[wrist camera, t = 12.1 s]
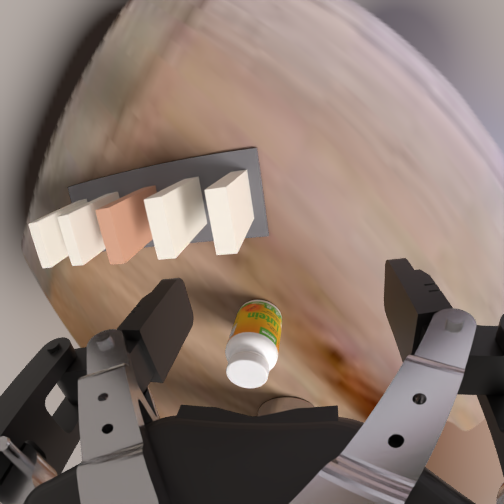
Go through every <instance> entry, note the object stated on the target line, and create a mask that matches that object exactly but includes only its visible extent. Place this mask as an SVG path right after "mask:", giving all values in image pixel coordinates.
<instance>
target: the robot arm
mask: <svg viewBox="0 0 504 504" xmlns="http://www.w3.org/2000/svg"><path fill="white" fill-rule="evenodd" d="M384 307H385V312H386V316H387V318H388V321H389V324H390V326H391V329H392V332H393V335H394V337H395V340H396V343H397V346H398V349H399V352H400V355H401V358H402V361H403V364H402V366H401V367H400V369H399V371H398V373H397V374H396V376H395V377H394V379H393V381H392V382H391V384H390V386H389V387H388V389H387V390H386V392H385V393H384V395H383V396H382V398H381V400H380V401H379V403H378V404H377V405H376V407H375V408H374V410H373V411H372V413H371V414H370V416H369V417H368V419H367V420H366V421H365V423H363V422H360V421H357V420H353V419H349V418H343V417H338V406H326V407H314V406H313V405H312V404H310V403H309V402H307V401H304V400H302V399H298V398H292V397H282V398H276V399H272V400H269V401H267V402H265V403H264V404H263V405H262V406H261V407H260V408H259V411H258V416H256V417H252V416H247V415H243V414H239V413H235V412H231V411H227V410H224V409H220V408H216V407H202V406H190V405H181V406H180V409H179V411H178V414H177V415H176V416H170V417H165V418H161V419H160V417H159V414H158V411H157V408H156V405H155V402H154V399H153V396H152V393H151V390H150V389H149V387H148V385H149V383H150V382H159V383H163V382H164V380H165V378H166V376H167V374H168V372H169V370H170V368H171V367H172V365H173V363H174V361H175V359H176V357H177V355H178V353H179V351H180V349H181V347H182V345H183V343H184V341H185V339H186V337H187V335H188V333H189V332H190V330H191V328H192V325H193V312H192V308H191V305H190V302H189V298H188V295H187V291H186V288H185V285H184V282H183V280H182V279H181V278H174V279H163V280H161V281H160V283H159V284H158V285H157V286H156V287H155V289H154V290H153V291H152V292H151V293H149V294H148V295H146V296H145V297H143V298H142V299H141V300H140V302H139V303H138V304H137V305H136V307H135V308H134V309H133V310H132V311H131V313H130V314H129V315H128V316H127V317H126V319H125V320H124V321H123V322H122V323H121V325H120V326H119V327H118V328H117V330H116V329H110V330H106V331H103V332H100V333H98V334H97V335H95V336H94V337H92V338H91V339H90V341H89V342H88V344H87V347H85V348H78V349H74V348H73V346H72V344H71V342H70V340H69V339H67V338H57V339H54V340H52V341H50V342H49V343H47V344H46V345H45V346H44V347H43V348H42V349H41V350H40V351H39V352H38V353H37V354H36V356H35V357H34V358H33V359H32V360H31V361H30V362H29V363H28V365H27V366H26V367H25V368H24V369H23V370H22V371H21V372H20V374H19V375H18V376H17V377H16V378H15V379H14V381H13V382H12V383H11V384H10V386H9V387H8V388H7V389H6V390H5V391H4V393H3V394H2V395H1V396H0V504H475V503H474V502H472V501H471V500H470V499H468V498H467V497H465V496H464V495H462V494H461V493H460V492H458V491H457V490H456V489H454V488H453V487H451V486H450V485H449V484H447V483H446V482H444V481H443V480H442V479H441V478H439V477H438V476H436V475H435V474H434V473H433V472H431V471H430V470H428V469H427V468H426V467H425V465H426V463H427V462H428V460H429V458H430V456H431V454H432V451H433V450H434V448H435V445H436V443H437V441H438V439H439V437H440V435H441V432H442V430H443V428H444V426H445V423H446V421H447V419H448V416H449V414H450V411H451V409H452V406H453V404H454V401H455V398H456V396H457V394H465V395H477V397H478V400H479V402H480V405H481V408H482V410H483V413H484V416H485V418H486V421H487V424H488V427H489V430H490V432H491V435H492V438H493V441H494V445H495V448H496V451H497V454H498V458H499V461H500V465H501V468H502V472H503V476H504V314H503V315H502V317H501V319H500V322H499V325H498V326H479V325H476V321H475V319H474V317H473V316H472V315H470V314H469V313H467V312H466V311H463V310H460V309H453V308H452V306H451V305H450V303H449V302H448V300H447V299H446V297H445V296H444V294H443V293H442V292H441V291H440V289H439V287H438V286H437V285H435V282H434V281H433V279H432V278H431V276H430V275H428V274H427V273H425V272H423V271H422V270H414V269H413V267H412V266H411V264H410V263H409V262H408V260H407V259H406V258H402V259H392V260H387V261H386V263H385V287H384ZM56 383H57V385H58V386H59V388H60V389H61V390H62V392H63V393H64V395H65V396H66V397H65V399H64V400H63V401H62V403H61V404H60V406H59V407H58V409H57V410H56V411H55V413H54V414H53V416H51V415H50V414H49V413H48V411H47V410H46V407H45V399H46V397H47V395H48V394H49V393H50V391H51V390H52V389H53V387H54V386H55V385H56ZM79 440H80V441H81V452H82V462H81V463H80V464H78V465H76V466H75V467H73V468H71V469H69V470H67V471H65V472H64V473H62V471H63V469H64V467H65V465H66V463H67V462H68V459H69V458H70V456H71V454H72V453H73V451H74V449H75V447H76V445H77V444H78V442H79ZM497 504H504V483H503V484H502V486H501V487H500V489H499V492H498V495H497Z"/></svg>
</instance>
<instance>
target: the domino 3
mask: <svg viewBox="0 0 504 504" xmlns="http://www.w3.org/2000/svg"><path fill="white" fill-rule="evenodd" d="M155 193H157V190H156V185H154V186H149V187H143V188H141V189H139V190H136V191H134V192H132V193H130V194H128V195H126V196H124V197H121V198H119V199H117V200H115V201H113V202H111V203H109V204H107V205H105V206H103V207H101V208H99V209H97V210H95V211H96V215H97V219H98V223H99V227H100V231H101V234H102V238H103V241H104V245H105V248H106V252H107V255H108V258H109V261H110V264H125V263H126V262H127V261H128V260H129V259H130V258H132V257H133V256H134V255H135V254H136V253H137V252H139V251H140V250H141V249H142V248H143V247H144V246H146V245H147V244H148V243H149V242H150V241H151V240H153V237H152V233H151V229H150V225H149V221H148V217H147V212H146V208H145V204H144V199H146V198H147V197H149V196H151V195H153V194H155Z"/></svg>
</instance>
